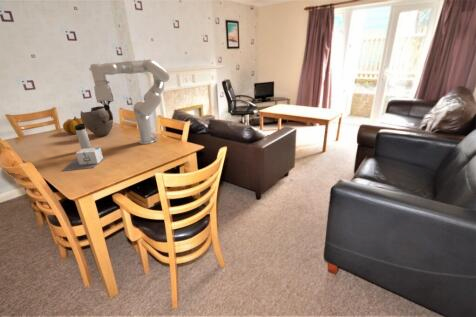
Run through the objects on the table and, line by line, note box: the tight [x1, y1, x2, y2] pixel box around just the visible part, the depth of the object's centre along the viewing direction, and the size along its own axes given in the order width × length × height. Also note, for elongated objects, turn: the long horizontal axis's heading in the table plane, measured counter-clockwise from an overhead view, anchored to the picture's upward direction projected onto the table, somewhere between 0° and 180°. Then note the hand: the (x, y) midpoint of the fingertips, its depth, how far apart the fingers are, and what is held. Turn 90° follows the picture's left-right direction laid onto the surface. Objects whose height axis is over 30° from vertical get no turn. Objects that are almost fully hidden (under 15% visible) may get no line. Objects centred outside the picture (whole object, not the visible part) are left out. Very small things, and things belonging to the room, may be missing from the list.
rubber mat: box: [61, 158, 98, 172], centre depth 156 cm, size 18×18×1 cm
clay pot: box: [79, 105, 114, 137], centre depth 211 cm, size 24×24×25 cm
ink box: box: [75, 146, 104, 165], centre depth 156 cm, size 8×8×12 cm
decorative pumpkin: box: [62, 116, 89, 135], centre depth 226 cm, size 20×22×15 cm
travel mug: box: [75, 124, 92, 150], centre depth 176 cm, size 6×7×20 cm
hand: (107, 110), depth 169 cm, fingers closed
